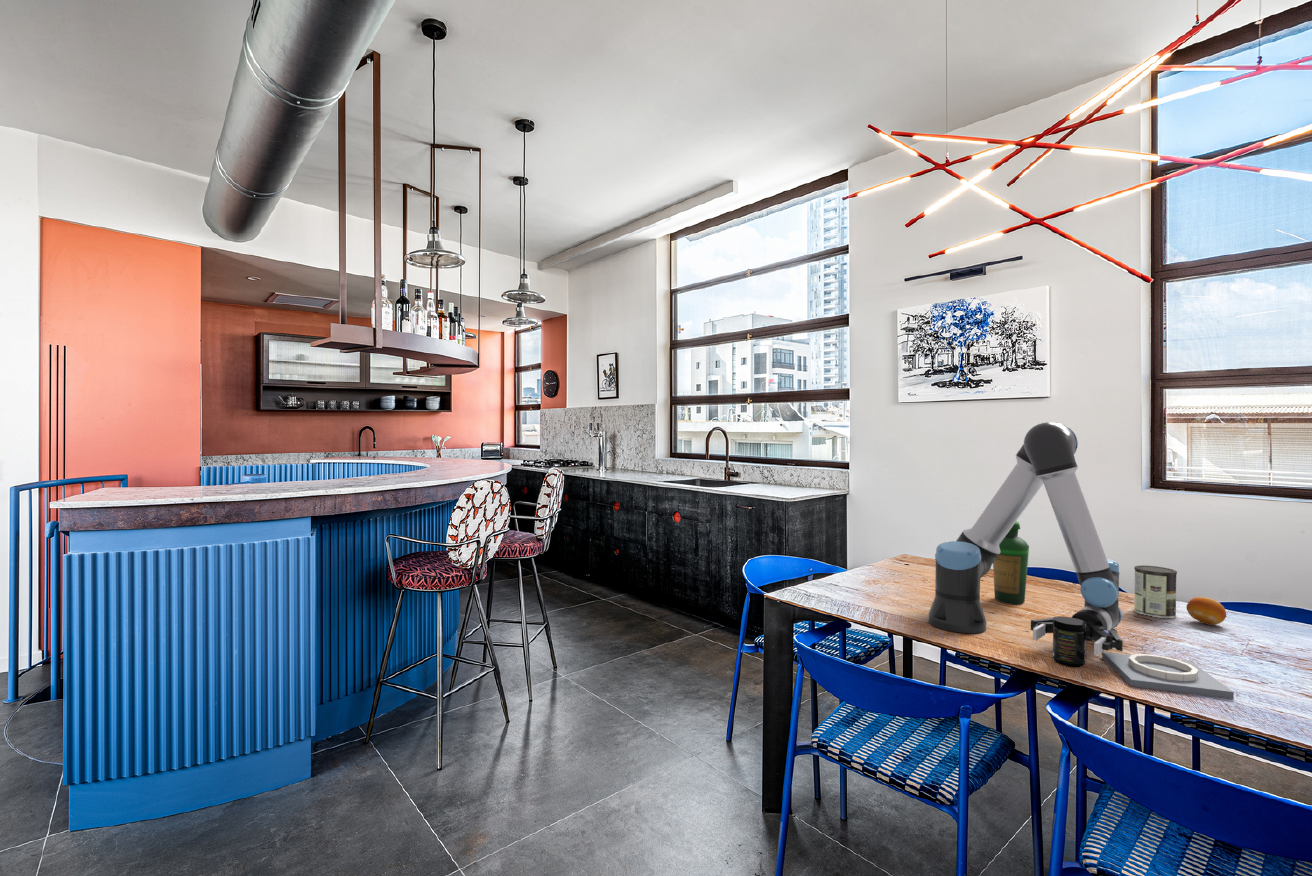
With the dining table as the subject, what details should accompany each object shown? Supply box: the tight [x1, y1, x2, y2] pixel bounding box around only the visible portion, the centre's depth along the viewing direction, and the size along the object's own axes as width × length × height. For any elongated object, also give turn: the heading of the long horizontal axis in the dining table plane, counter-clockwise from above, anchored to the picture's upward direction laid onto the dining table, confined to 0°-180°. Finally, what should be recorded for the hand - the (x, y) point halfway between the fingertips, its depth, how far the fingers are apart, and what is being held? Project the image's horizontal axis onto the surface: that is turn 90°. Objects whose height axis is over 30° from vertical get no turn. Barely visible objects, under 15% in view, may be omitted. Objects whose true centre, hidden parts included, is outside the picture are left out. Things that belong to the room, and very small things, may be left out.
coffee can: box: [1133, 565, 1178, 619], centre depth 188 cm, size 10×10×14 cm
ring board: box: [1101, 651, 1235, 700], centre depth 140 cm, size 18×18×3 cm
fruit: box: [1186, 596, 1227, 626], centre depth 179 cm, size 8×9×8 cm
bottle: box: [992, 520, 1030, 605], centre depth 201 cm, size 11×11×28 cm
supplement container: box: [1052, 615, 1087, 668], centre depth 147 cm, size 7×7×10 cm
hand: (1064, 641), depth 145 cm, fingers open, 12 cm apart
